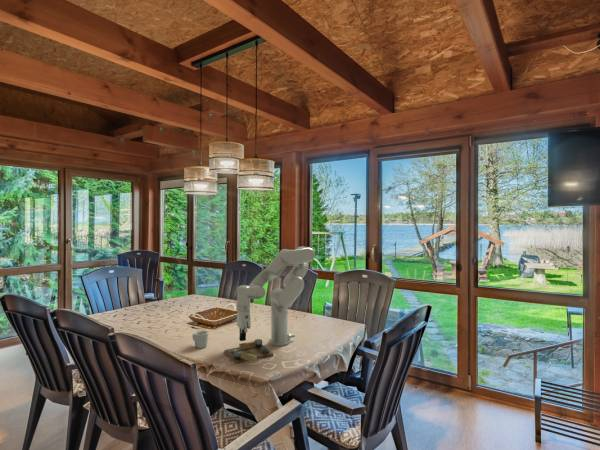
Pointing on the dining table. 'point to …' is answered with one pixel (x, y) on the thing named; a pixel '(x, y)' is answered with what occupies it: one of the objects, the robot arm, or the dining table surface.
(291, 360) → the dining table surface
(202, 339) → the cup
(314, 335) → the dining table surface
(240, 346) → the ball knob lever
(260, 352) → the base plate
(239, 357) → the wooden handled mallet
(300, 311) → the dining table surface
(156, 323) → the dining table surface
